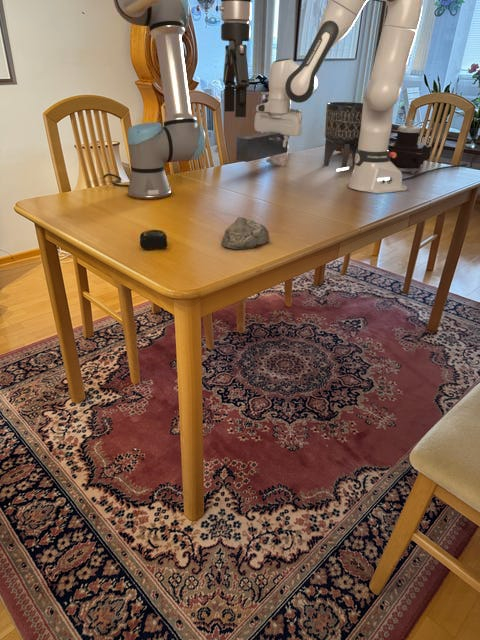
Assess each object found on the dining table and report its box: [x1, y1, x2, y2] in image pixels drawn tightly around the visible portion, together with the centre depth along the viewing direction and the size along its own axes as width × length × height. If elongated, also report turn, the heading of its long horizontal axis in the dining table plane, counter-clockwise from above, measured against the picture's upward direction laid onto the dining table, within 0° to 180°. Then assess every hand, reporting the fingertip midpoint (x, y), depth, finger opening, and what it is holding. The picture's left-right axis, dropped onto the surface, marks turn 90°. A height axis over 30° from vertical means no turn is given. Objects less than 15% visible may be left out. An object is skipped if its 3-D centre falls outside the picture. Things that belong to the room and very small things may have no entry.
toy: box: [335, 147, 352, 155], centre depth 240 cm, size 11×6×15 cm
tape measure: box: [139, 229, 168, 250], centre depth 117 cm, size 7×7×4 cm
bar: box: [235, 132, 289, 163], centre depth 173 cm, size 28×5×8 cm, turn 143°
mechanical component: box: [388, 119, 433, 174], centre depth 204 cm, size 22×21×30 cm
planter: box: [323, 101, 363, 172], centre depth 204 cm, size 20×20×26 cm
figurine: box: [265, 144, 290, 166], centre depth 208 cm, size 8×15×13 cm, turn 145°
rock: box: [221, 216, 270, 250], centre depth 119 cm, size 13×9×6 cm, turn 131°
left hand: (234, 114), depth 126 cm, fingers open, 13 cm apart
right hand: (276, 145), depth 180 cm, fingers closed on bar, 5 cm apart
